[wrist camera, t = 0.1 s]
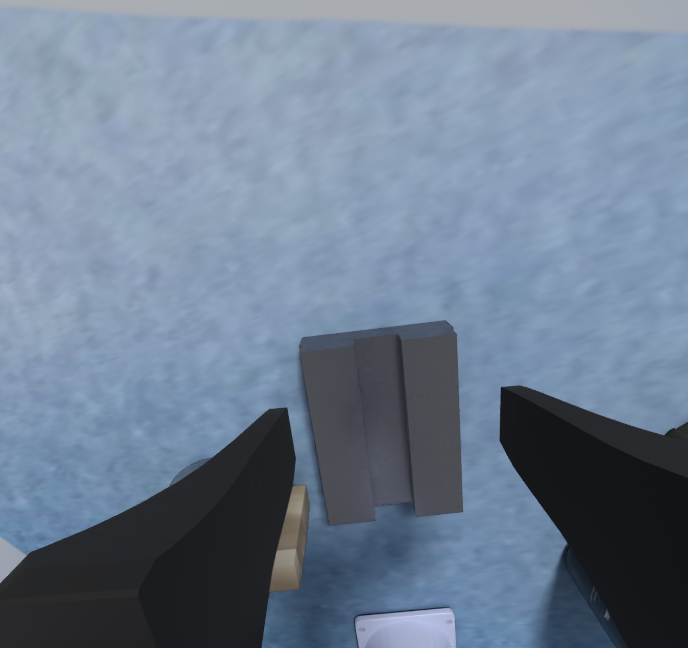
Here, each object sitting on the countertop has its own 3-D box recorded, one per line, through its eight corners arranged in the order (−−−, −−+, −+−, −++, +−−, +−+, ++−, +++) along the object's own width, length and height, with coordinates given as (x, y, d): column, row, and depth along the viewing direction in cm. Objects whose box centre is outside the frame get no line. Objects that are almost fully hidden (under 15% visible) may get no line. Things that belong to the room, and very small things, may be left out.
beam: (309, 507, 24) (299, 589, 19) (151, 523, 25) (94, 608, 19) (305, 484, 24) (294, 562, 18) (143, 501, 24) (83, 582, 19)
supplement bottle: (559, 524, 25) (746, 779, 13) (652, 508, 24) (931, 756, 13) (563, 591, 27) (732, 867, 15) (651, 577, 26) (893, 849, 15)
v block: (452, 481, 24) (466, 511, 21) (328, 494, 24) (326, 525, 21) (445, 320, 21) (460, 333, 18) (302, 337, 21) (296, 352, 18)
